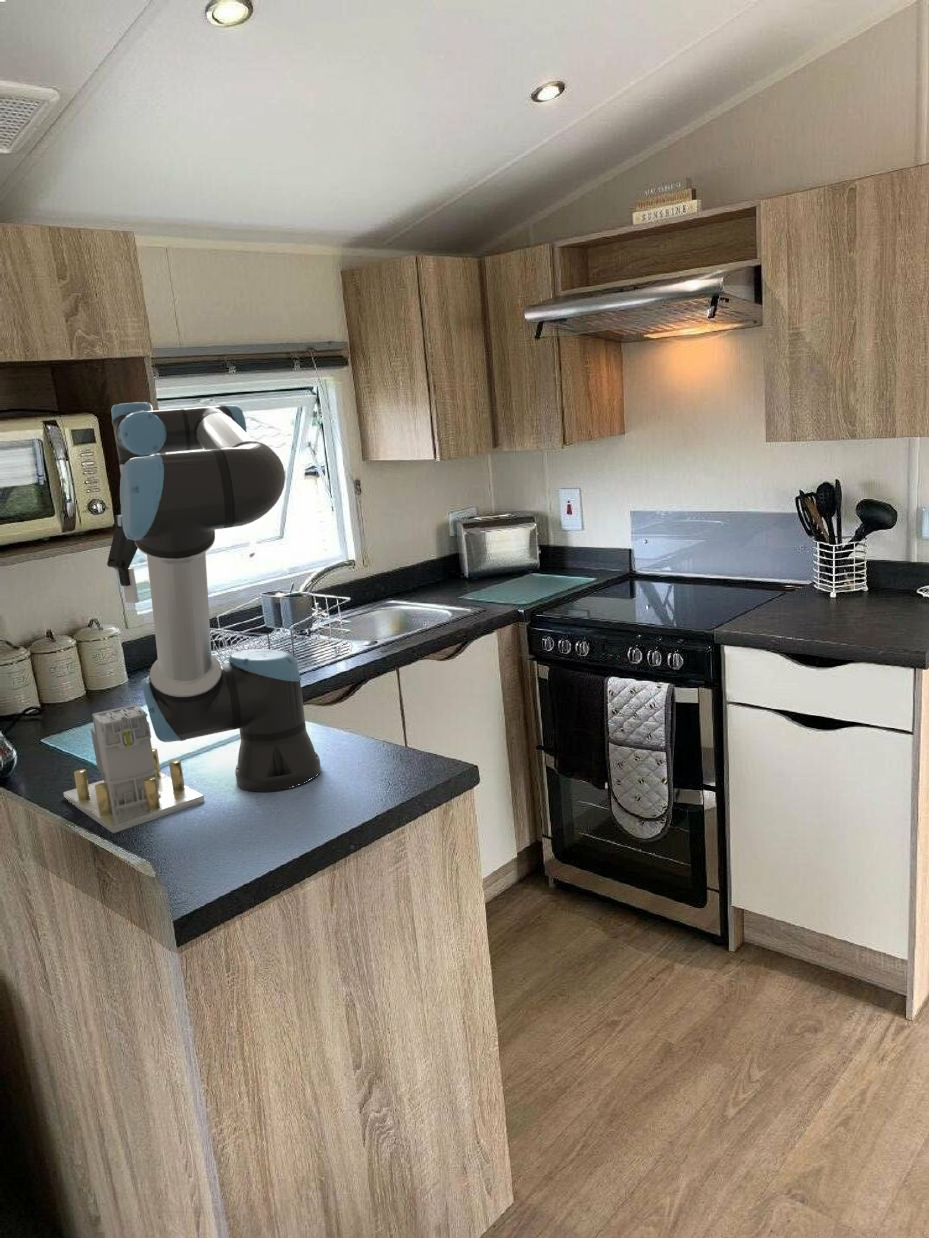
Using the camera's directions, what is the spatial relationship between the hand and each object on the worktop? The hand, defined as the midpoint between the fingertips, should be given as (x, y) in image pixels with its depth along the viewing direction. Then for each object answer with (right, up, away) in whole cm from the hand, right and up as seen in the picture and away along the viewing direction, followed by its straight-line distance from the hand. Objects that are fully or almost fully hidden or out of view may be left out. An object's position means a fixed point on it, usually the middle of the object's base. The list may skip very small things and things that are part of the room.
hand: (160, 595), depth 188 cm
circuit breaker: (0, -35, -17) cm, 39 cm away
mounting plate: (+1, -36, -19) cm, 41 cm away
